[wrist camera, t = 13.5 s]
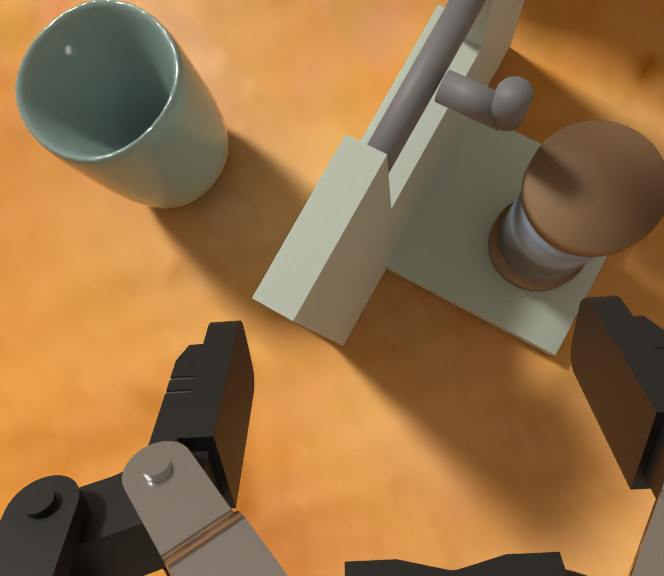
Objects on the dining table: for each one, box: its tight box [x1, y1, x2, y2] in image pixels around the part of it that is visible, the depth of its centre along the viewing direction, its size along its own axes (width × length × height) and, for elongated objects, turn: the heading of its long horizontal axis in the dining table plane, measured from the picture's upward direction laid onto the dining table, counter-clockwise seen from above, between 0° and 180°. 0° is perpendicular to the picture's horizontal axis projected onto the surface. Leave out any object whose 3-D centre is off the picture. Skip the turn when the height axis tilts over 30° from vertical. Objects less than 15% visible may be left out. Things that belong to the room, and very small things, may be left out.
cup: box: [15, 0, 229, 208], centre depth 31 cm, size 8×8×10 cm
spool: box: [488, 120, 664, 291], centre depth 26 cm, size 5×5×10 cm
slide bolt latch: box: [252, 0, 608, 356], centre depth 25 cm, size 20×15×15 cm
